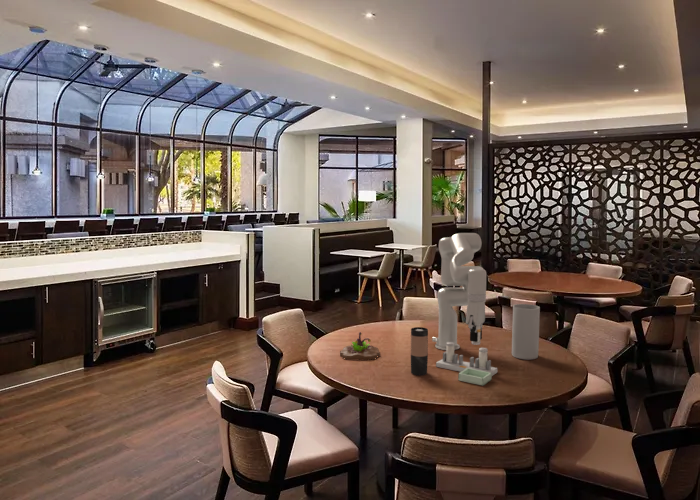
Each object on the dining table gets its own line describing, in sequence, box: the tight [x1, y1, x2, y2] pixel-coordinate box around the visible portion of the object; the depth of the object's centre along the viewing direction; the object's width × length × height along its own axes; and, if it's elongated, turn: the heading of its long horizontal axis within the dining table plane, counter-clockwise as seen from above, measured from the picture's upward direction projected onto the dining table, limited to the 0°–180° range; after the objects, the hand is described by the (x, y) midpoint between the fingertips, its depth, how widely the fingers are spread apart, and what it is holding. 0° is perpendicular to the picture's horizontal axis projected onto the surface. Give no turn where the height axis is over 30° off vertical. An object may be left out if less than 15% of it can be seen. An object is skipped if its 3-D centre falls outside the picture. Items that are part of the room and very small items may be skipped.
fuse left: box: [445, 342, 455, 363], centre depth 246 cm, size 4×4×9 cm
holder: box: [435, 351, 498, 377], centre depth 242 cm, size 26×9×6 cm, turn 54°
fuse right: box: [478, 347, 489, 370], centre depth 237 cm, size 4×4×9 cm
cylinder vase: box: [511, 303, 541, 361], centre depth 261 cm, size 12×12×25 cm
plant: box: [339, 331, 381, 361], centre depth 266 cm, size 20×20×11 cm
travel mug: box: [410, 326, 429, 376], centre depth 236 cm, size 8×8×20 cm
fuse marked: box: [471, 323, 481, 346], centre depth 226 cm, size 4×4×9 cm
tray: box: [457, 368, 493, 387], centre depth 228 cm, size 11×9×3 cm
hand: (475, 339), depth 226 cm, fingers closed on fuse marked, 3 cm apart
